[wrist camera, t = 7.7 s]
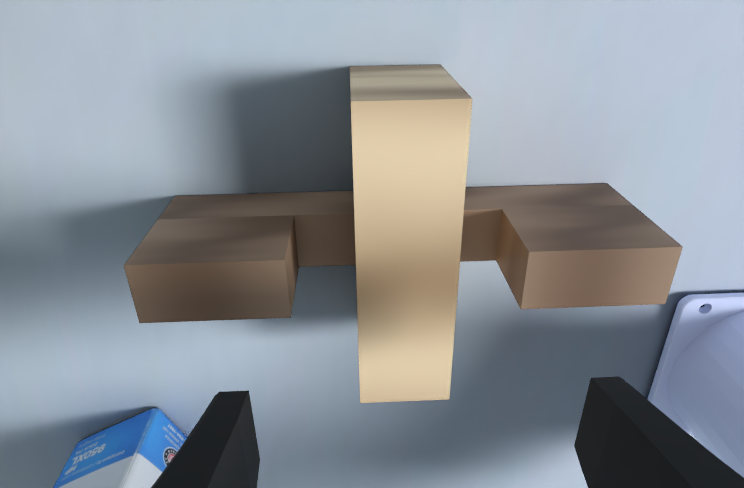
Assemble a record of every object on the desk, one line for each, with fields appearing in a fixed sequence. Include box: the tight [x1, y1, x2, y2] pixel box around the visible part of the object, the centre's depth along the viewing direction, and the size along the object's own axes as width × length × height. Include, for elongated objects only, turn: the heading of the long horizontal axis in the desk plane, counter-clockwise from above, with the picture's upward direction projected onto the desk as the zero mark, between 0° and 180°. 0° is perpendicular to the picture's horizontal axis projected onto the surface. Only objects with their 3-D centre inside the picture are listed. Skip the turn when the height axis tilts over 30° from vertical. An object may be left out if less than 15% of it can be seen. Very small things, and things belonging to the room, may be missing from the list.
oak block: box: [350, 65, 472, 403], centre depth 17 cm, size 10×3×5 cm, turn 1°
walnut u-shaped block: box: [124, 183, 682, 323], centre depth 18 cm, size 16×2×5 cm, turn 91°
